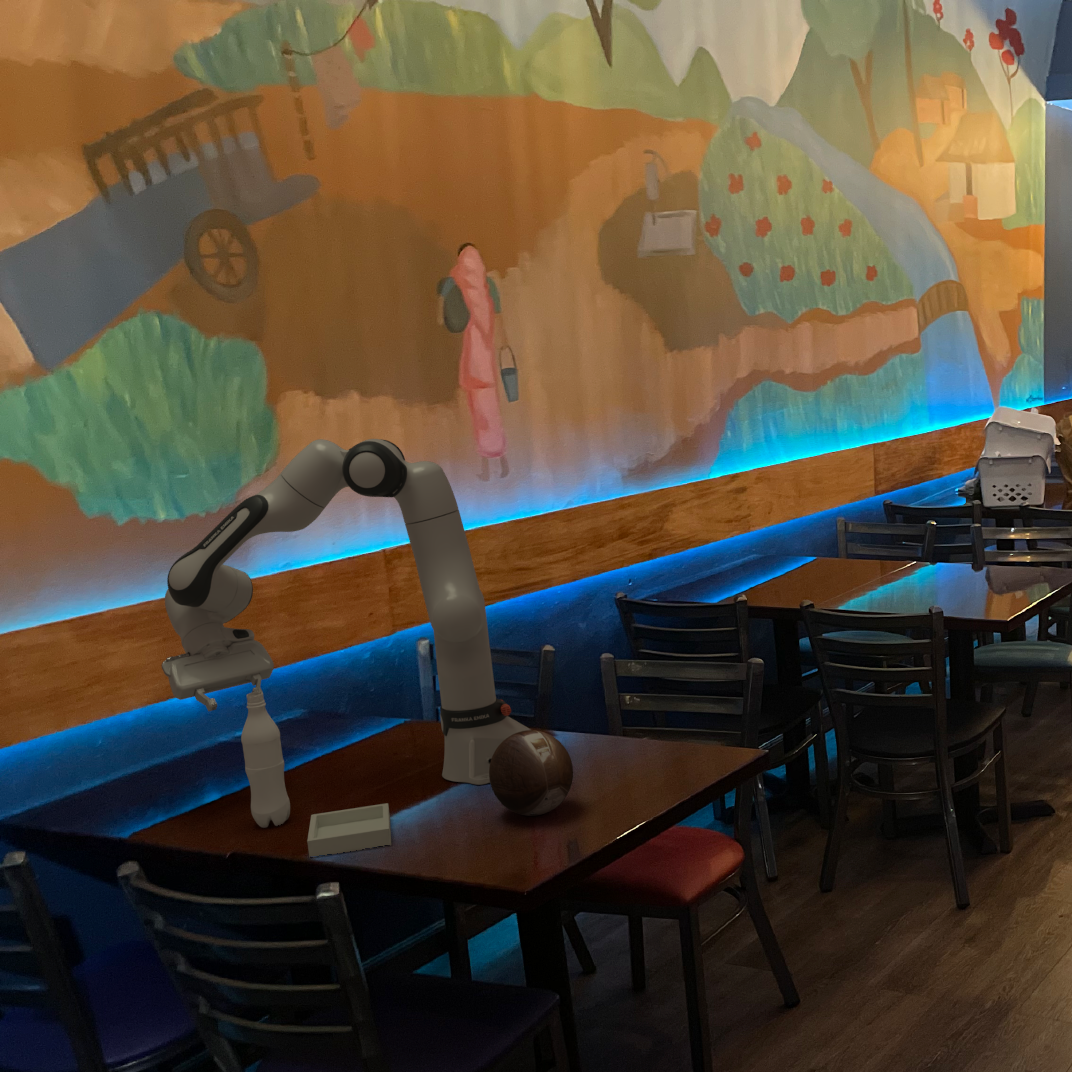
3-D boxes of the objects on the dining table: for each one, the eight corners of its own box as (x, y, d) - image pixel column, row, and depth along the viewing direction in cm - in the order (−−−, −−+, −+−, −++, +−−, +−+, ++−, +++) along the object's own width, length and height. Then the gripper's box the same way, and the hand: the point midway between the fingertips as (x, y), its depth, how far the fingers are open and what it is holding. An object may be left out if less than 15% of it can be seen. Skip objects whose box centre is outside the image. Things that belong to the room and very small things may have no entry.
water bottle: (282, 829, 223) (264, 697, 221) (247, 830, 225) (228, 700, 222) (298, 815, 230) (280, 687, 227) (263, 816, 232) (245, 690, 229)
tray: (390, 818, 222) (388, 803, 222) (391, 845, 208) (389, 828, 208) (313, 830, 221) (311, 814, 220) (309, 857, 207) (307, 841, 206)
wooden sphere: (537, 833, 206) (527, 748, 204) (476, 820, 216) (467, 738, 215) (594, 806, 217) (585, 725, 215) (534, 794, 227) (525, 716, 225)
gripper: (160, 649, 231) (187, 706, 224) (259, 628, 243) (287, 680, 237) (155, 670, 235) (181, 725, 229) (253, 647, 247) (280, 700, 241)
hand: (236, 702), depth 233 cm, fingers open, 8 cm apart
